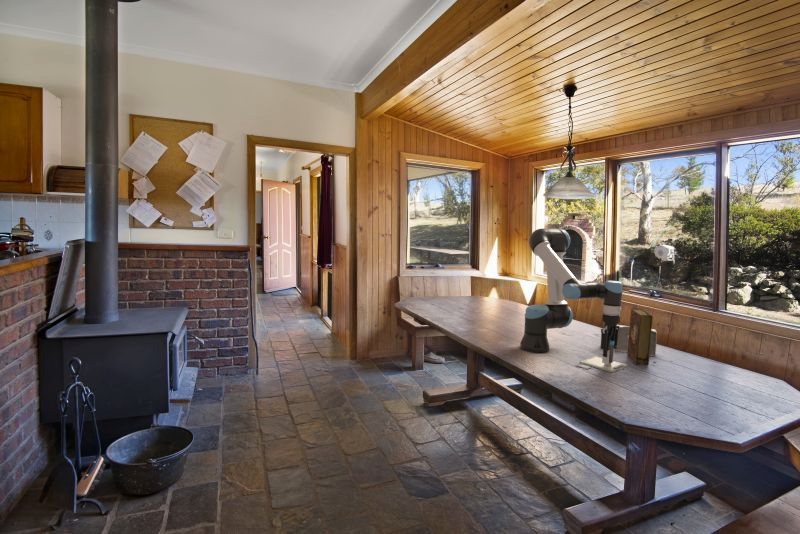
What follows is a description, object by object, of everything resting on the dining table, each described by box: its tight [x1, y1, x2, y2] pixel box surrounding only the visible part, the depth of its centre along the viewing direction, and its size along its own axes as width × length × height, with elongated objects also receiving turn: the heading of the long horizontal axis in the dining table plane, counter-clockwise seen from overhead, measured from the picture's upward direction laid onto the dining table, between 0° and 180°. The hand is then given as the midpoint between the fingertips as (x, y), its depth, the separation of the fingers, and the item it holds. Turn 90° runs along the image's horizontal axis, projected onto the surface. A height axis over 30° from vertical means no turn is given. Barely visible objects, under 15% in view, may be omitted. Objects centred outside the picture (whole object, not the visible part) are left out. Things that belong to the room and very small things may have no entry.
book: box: [626, 307, 654, 366], centre depth 224 cm, size 16×6×25 cm, turn 168°
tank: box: [614, 324, 658, 357], centre depth 244 cm, size 25×16×12 cm, turn 62°
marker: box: [604, 340, 615, 367], centre depth 212 cm, size 4×4×12 cm
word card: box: [575, 363, 593, 370], centre depth 214 cm, size 6×4×1 cm, turn 39°
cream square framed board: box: [579, 355, 628, 373], centre depth 218 cm, size 16×15×1 cm
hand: (607, 362), depth 213 cm, fingers closed on marker, 4 cm apart
